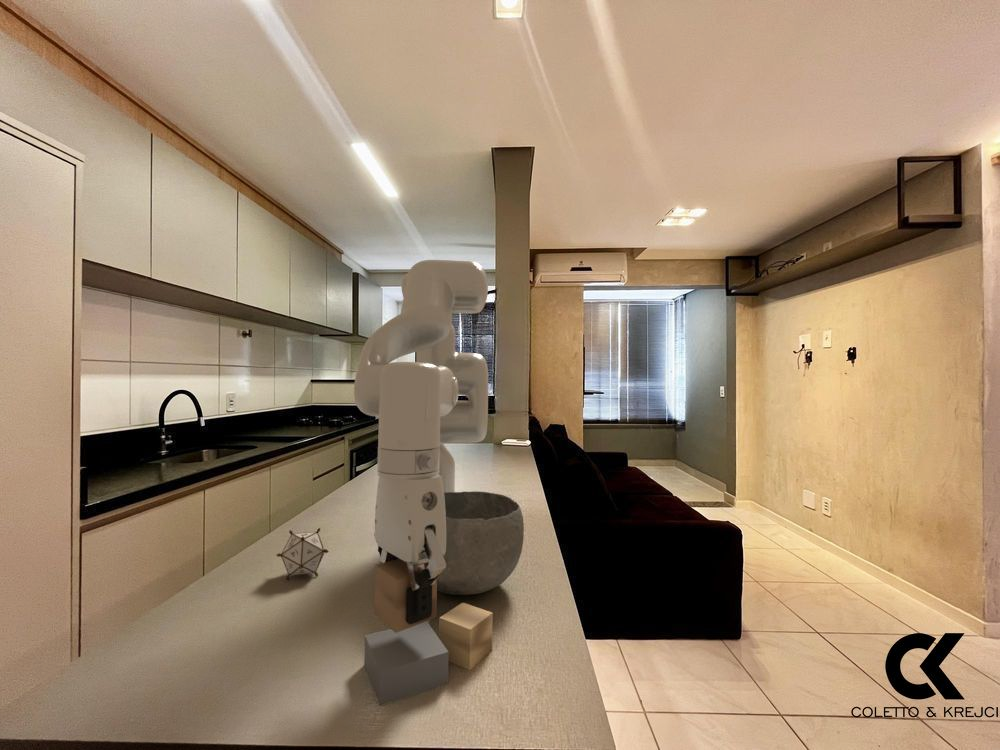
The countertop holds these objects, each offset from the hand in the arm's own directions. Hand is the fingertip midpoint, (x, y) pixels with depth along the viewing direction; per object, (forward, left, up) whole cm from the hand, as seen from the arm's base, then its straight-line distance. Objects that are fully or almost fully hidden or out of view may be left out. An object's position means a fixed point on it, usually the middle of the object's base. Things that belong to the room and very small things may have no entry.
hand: (405, 608), depth 55 cm
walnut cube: (0, 0, -1) cm, 1 cm away
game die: (0, -36, -8) cm, 37 cm away
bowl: (-20, -14, -8) cm, 25 cm away
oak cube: (-8, +2, -8) cm, 11 cm away
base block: (0, 0, -8) cm, 8 cm away
